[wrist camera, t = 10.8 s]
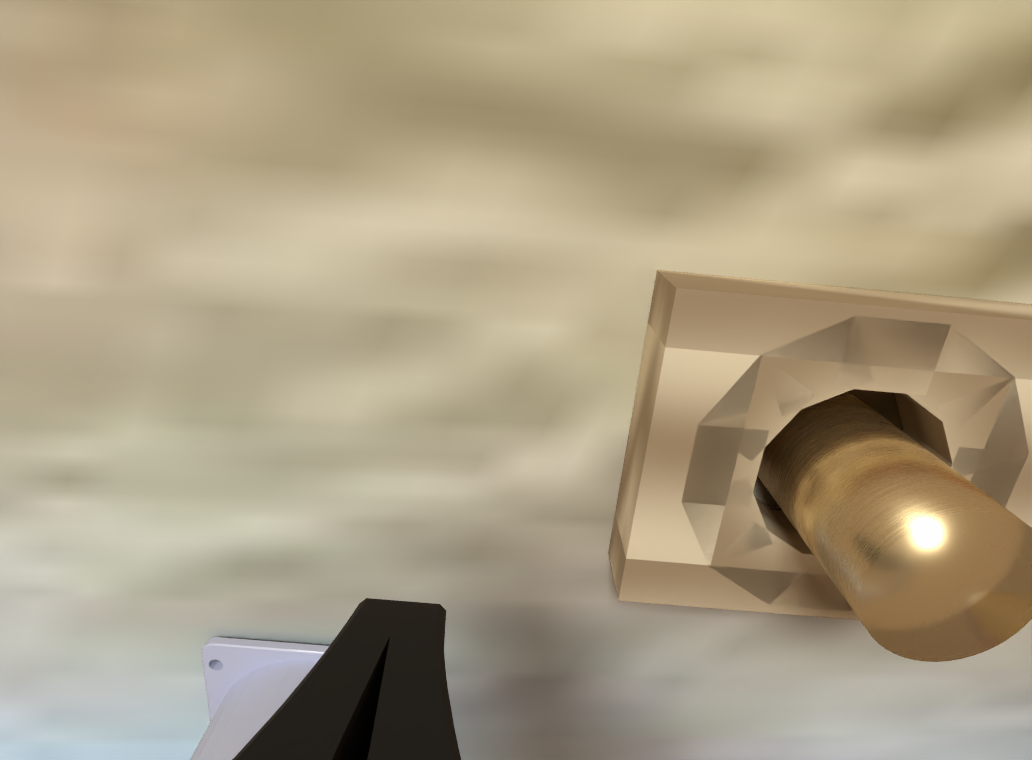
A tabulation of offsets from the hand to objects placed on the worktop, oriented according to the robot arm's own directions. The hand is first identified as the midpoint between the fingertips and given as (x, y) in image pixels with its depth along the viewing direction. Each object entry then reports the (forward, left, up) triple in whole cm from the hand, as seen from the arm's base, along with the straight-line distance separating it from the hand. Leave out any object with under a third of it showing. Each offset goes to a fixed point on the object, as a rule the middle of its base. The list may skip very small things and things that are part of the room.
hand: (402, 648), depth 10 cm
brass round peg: (0, -12, -10) cm, 15 cm away
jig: (0, -12, -10) cm, 15 cm away
